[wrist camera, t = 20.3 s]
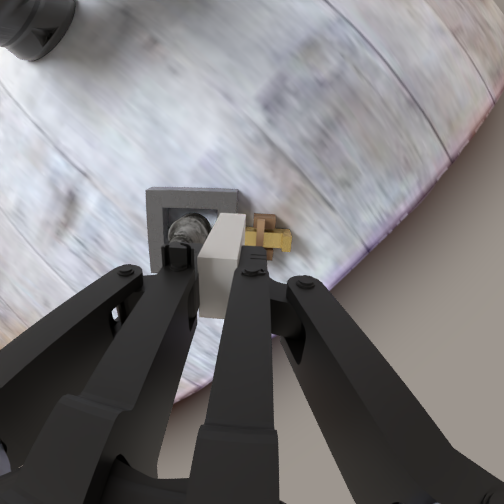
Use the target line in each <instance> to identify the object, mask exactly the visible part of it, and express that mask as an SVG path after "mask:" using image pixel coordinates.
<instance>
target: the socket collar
mask: <svg viewBox="0 0 504 504" xmlns="http://www.w3.org/2000/svg"><path fill="white" fill-rule="evenodd" d="M237 202H238V189H221V188H189V187H151V188H149V189H147V190H146V212H147V229H148V243H149V255H150V266H151V273H158V272H159V271H160V269H161V268H162V254H161V246H163V245H164V244H167V243H168V242H169V239H168V233H169V231H168V208H194V209H218V215H217V218H218V217H219V215H220V213H234V214H237Z"/></svg>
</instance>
